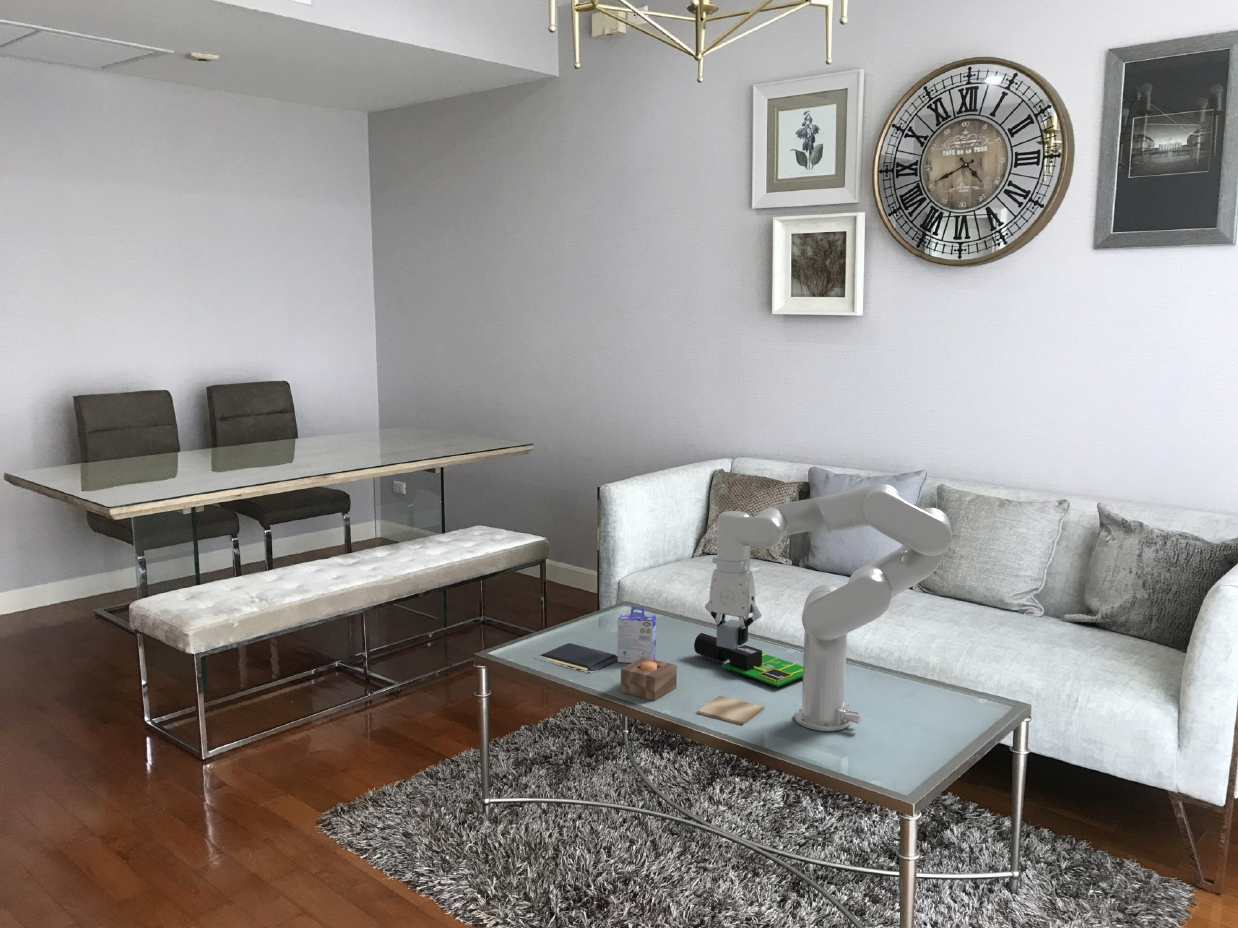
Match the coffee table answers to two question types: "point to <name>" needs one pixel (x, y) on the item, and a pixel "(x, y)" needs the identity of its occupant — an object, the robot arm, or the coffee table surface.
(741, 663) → the circuit board with cylinder
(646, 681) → the walnut housing
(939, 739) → the coffee table surface
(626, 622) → the ink cartridge box
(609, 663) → the wallet
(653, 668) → the orange ball
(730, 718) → the oak board
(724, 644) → the gray rectangular block
